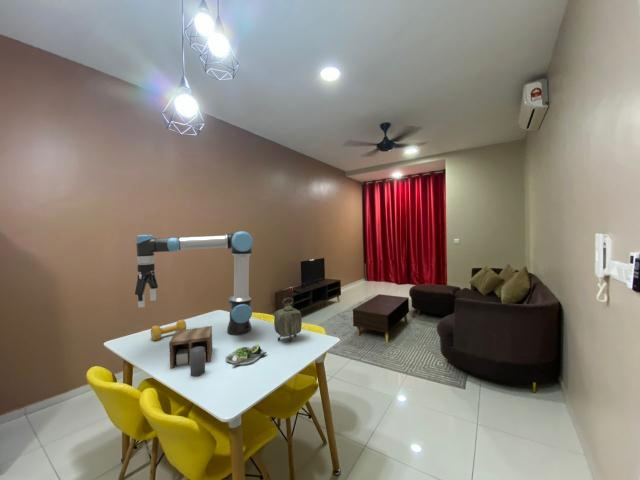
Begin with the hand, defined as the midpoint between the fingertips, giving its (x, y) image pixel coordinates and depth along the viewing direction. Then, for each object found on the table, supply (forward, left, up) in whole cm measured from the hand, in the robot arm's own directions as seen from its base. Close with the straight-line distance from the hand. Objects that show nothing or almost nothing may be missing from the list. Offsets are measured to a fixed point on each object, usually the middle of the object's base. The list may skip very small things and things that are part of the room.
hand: (147, 303), depth 138 cm
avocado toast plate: (-49, +23, -28) cm, 60 cm away
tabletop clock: (-74, +11, -27) cm, 79 cm away
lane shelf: (-23, +14, -27) cm, 38 cm away
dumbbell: (-5, -24, -27) cm, 37 cm away
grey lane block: (-18, +16, -27) cm, 37 cm away
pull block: (-27, +24, -27) cm, 45 cm away
